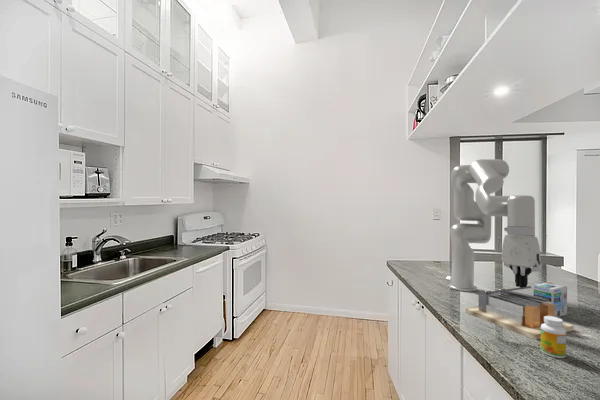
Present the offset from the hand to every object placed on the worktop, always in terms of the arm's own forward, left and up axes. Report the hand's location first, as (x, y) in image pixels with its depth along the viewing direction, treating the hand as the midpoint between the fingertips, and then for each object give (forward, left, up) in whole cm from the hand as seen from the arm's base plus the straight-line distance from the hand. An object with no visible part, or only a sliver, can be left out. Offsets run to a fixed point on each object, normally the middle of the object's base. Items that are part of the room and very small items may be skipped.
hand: (521, 286), depth 100 cm
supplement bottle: (+15, -11, -14) cm, 23 cm away
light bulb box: (-4, +24, -14) cm, 28 cm away
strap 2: (-5, +8, -6) cm, 11 cm away
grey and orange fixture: (-4, +4, -12) cm, 13 cm away
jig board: (-4, +4, -14) cm, 15 cm away
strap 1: (-5, 0, -3) cm, 6 cm away
